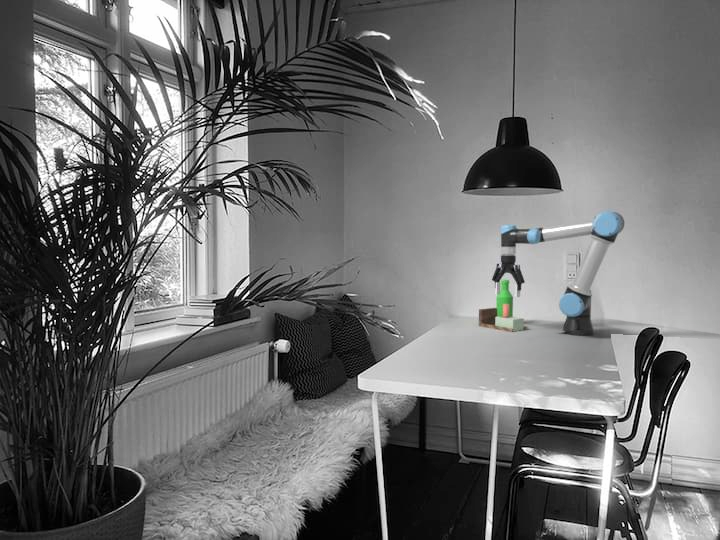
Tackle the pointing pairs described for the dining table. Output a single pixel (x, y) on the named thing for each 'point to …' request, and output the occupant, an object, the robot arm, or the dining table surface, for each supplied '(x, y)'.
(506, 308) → the dowel
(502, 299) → the bottle
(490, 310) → the channel board
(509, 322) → the socket block
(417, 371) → the dining table surface
